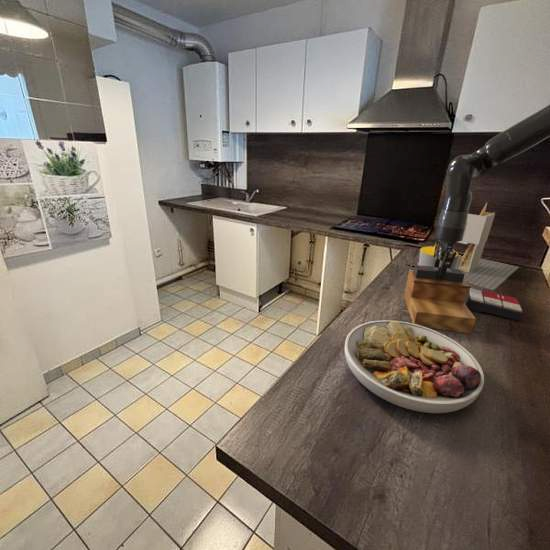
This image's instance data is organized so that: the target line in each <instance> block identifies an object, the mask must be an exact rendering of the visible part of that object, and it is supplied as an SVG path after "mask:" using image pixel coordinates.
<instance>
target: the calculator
mask: <svg viewBox="0 0 550 550" xmlns="http://www.w3.org/2000/svg"><path fill="white" fill-rule="evenodd" d="M465 305H466V306H467V307H468V309H469V310H470V311H471V312H477V313H480V312H483V313H487V314H491V315H495V316H499V317H502V318H506V319H510V320H514V321H518V322H520V321H521V319H522V318H523V315H524V311H523V309H522V307H521V304H520V302H519V300H518V298H517V297H514V296H508V295H505V294H500V293H496V292H492V291H487V290H480V289H477V288H472V287H471V288H469V290H468V293H467V296H466V300H465Z"/></svg>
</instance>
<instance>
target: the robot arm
mask: <svg viewBox="0 0 550 550" xmlns="http://www.w3.org/2000/svg"><path fill="white" fill-rule="evenodd" d="M548 138H550V104H548V105H546V106H545V107H543V108H542V109H540V110H537V112H534V113H532V114H531V115H529V116H528V117H525V118H524V119H522V120H521V121H519V122H517V123H515V124H513V125H512V126H510V127H508V128H507V129H505V130H503V131H501V132H500V133H498V134H496V135H495V136H493V137H492V138H490V139H489V140H487V142H485V144H484V146H482V147H480V148H479V149H477V150H475V151H474V152H472V153H469V154H460V155H458V156H456V157H454V158H453V159H452V160H451V162H450V163H449V164H448V167H447V169H446V172H445V173H446V174H445V194H444V197H443V198H444V199H443V203H442V207H441V211H440V213H439V216H438V220H437V223H436V228H435V232H434V238H435V239H436V241H435V243H436V244H435V243H434V247H435V251H434V258H435V259H434V260H435V261H436V262H435V264H434V267H439V269H438V273H437V278H440V279H444V278H445V274H446V271H447V268H451V266H452V263H453V261H454V258H455V256H456V252H457V251H456V252H454V251H455V243H459V241H461V240H462V236H463V233H464V229H465V225H466V222H467V217H468V214H469V210H470V207H471V203H472V200H473V193H472V191H471V185H472V180H475V179H477V178H479V177H481V176H482V175H484V174H486V173H487V172H489V171H491V170H492V169H494V168H495V167H496V166H498V165H500V164H502V163H504V162H506V161H509V160H510V159H512V158H514V157H516V156H518V155H520V154H521V153H522V154H523V153H524V152H526V151H527V150H529V149H531V148H533V147H535V146H536V145H538V144H540V143H541V142H543V141H544V140H546V139H548ZM445 263H446V264H445Z"/></svg>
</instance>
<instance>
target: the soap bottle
mask: <svg viewBox="0 0 550 550" xmlns="http://www.w3.org/2000/svg"><path fill="white" fill-rule="evenodd" d="M435 244H436V242H435V243H434V246H431V245H430V246H428V245H427V246H422V247H421V248H420V249H419V250H420V251H419V257H418V259H419V262H418V265H420V266H430V267H434V264H435V262H436V261H435V260H434V259H435V258H434V251H435ZM454 252H456V256H455V258H454V261H453V263H452V266H451V268H452V269H454V268H455V265H456V262H457V259H458V256H459V254H458V253H459V252H457V251H455V250H454ZM445 264H446V263H445Z"/></svg>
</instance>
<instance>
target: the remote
mask: <svg viewBox="0 0 550 550" xmlns="http://www.w3.org/2000/svg"><path fill="white" fill-rule="evenodd" d="M438 269H439V267H430V266H420V265H415V267H413V270H414V271H413V273H414V275H415V277H416V278H426V279H436V280H445V281H455V282H463V279H464V275H465V274H464V273H463V272H462V271H461V270H460V269H452V268H447V271H446V274H445V278H444V279H440V278H437V273H438Z"/></svg>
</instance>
